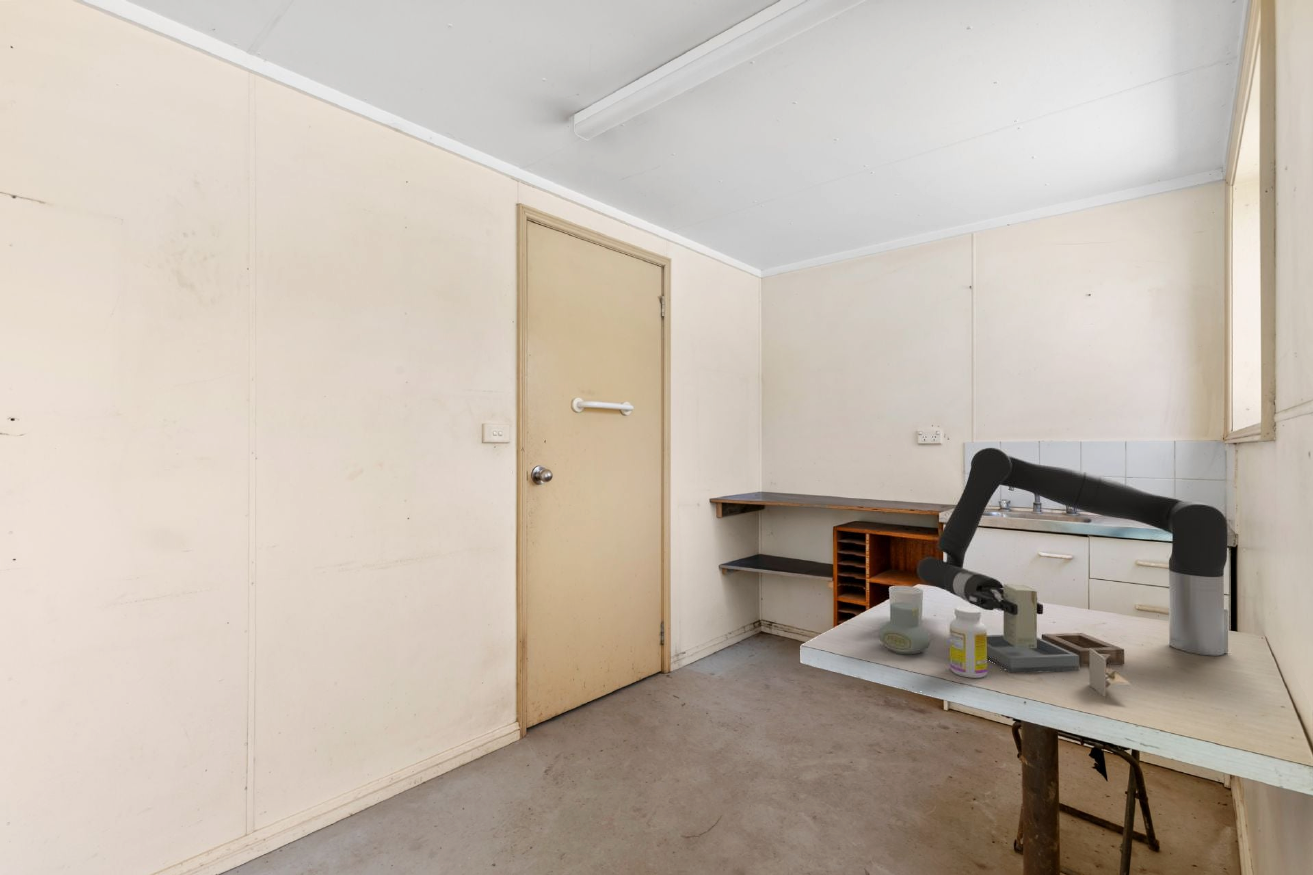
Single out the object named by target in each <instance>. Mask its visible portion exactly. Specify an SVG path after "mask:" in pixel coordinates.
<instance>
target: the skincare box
mask: <svg viewBox="0 0 1313 875" xmlns="http://www.w3.org/2000/svg"><path fill="white" fill-rule="evenodd" d="M1003 587H1004V600H1006V601H1009V602H1011V603H1014V604H1016V605H1017V606H1018V614H1017V615H1012V614H1010V613H1008V612H1005V611H1003V630H1002V631H1003V633H1002V635H1003V639H1005V640H1006V641H1007V642H1009V643H1010V644H1012V645H1013V646H1015V647H1020V648H1035V649H1036V648H1037V637H1038V630H1037V629H1038V628H1037V626H1038V614H1037V602H1038V591H1037V590H1036V589H1033V588H1031V587H1028V586H1026V585H1024V584H1013V583H1010V584H1009V583H1004V584H1003Z"/></svg>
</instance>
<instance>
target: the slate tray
mask: <svg viewBox="0 0 1313 875" xmlns="http://www.w3.org/2000/svg"><path fill="white" fill-rule="evenodd" d="M988 660H990V661H991V662H990V661H989V662H990V663H992V662H993V663H992V664H994V663H995V664H996V666H997V665H998V667H999V666H1000V668H1001V667H1002V668H1001V669H1003V670H1004V669H1006V670H1005V671H1006V672H1008V671H1009V672H1008V673H1010V674H1017V673H1016V672H1025V673H1040V672H1039V671H1043V672H1042V673H1045V672H1044V671H1050V672H1068V671H1069V672H1070V671H1073V672H1074V671H1080V665H1079V655H1077V654H1074V653H1072V652H1070V651H1068V650H1065V649H1063V648H1061V647H1059V646H1056V645H1054V644H1052V643H1049V642H1047V641H1045V640H1043V639H1042V638H1041V637H1038V636H1037V648H1036V649H1035V648H1020V647H1015V646H1013V645H1012V644H1010V643H1009V642H1007V641H1006V640H1005V639H1003V634H987V661H988ZM995 664H994V665H995Z"/></svg>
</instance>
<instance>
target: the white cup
mask: <svg viewBox="0 0 1313 875" xmlns="http://www.w3.org/2000/svg"><path fill="white" fill-rule="evenodd" d="M888 592H889V593H888V595H889V606H890V605H891V604H892V603H898V602H901V603H910V604H913V605H916V606H917V607H918V616H919V625H920V626H922V619H923V618H922V617H923V607H924V606H923V604H924V603H923V601H924V590H923V589H922V588H919V587H915V586H908V585H893V586H889V588H888Z"/></svg>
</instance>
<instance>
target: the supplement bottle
mask: <svg viewBox="0 0 1313 875" xmlns="http://www.w3.org/2000/svg"><path fill="white" fill-rule="evenodd" d="M981 613H982V612H981V610H980V609H979V608H976V607H972V606H965V605H964V606H955V607H954V616H955V618H954V619H952V620H951V621H950V622H949V667H950V670H951V671H952V672H953V673H954V674H956V675H958V676H961V677H965V678H970V679H972V678H973V679H981V678H984V677H986V676H987V675H988V660H987V635H988V633H987V627H986V625H985V624H984V623H983V622H981V616H982V614H981Z"/></svg>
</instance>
